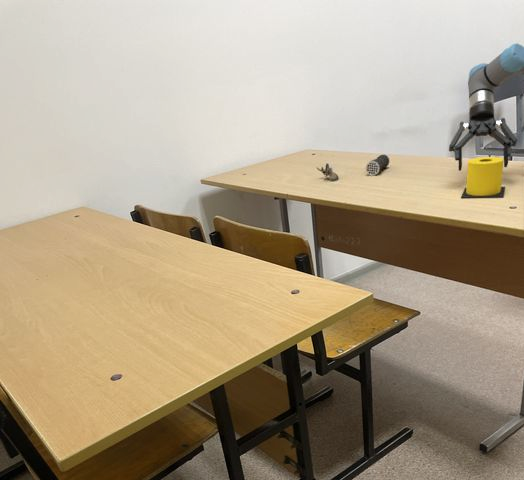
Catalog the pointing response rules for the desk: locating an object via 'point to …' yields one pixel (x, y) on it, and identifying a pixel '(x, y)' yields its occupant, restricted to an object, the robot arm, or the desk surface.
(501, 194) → the edge mat
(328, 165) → the eagle figurine
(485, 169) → the tape roll
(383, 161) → the flashlight
